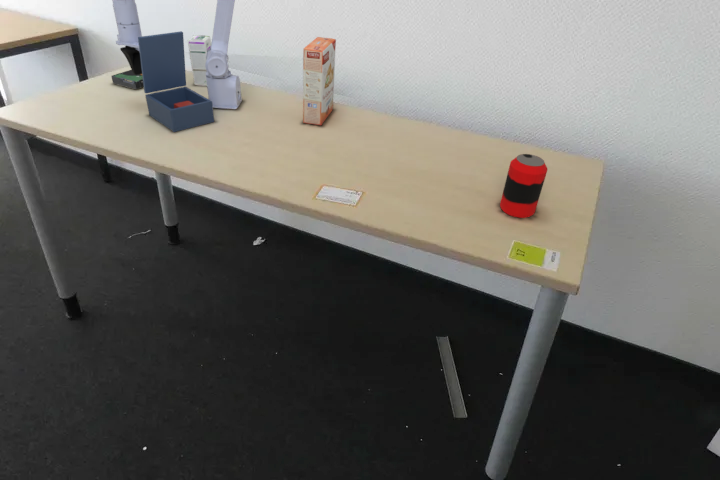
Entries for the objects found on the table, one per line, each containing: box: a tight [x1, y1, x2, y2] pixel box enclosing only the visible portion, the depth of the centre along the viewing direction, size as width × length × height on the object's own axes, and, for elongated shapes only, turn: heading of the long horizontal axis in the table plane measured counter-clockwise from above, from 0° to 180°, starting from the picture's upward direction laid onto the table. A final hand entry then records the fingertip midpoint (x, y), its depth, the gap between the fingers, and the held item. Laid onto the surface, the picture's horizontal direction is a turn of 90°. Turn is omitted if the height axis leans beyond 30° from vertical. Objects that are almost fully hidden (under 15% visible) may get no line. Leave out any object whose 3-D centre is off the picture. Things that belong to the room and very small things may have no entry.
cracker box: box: [302, 36, 337, 126], centre depth 144 cm, size 14×6×21 cm, turn 168°
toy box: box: [145, 86, 215, 133], centre depth 141 cm, size 15×12×6 cm
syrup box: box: [187, 34, 212, 87], centre depth 164 cm, size 6×6×14 cm
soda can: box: [499, 153, 548, 219], centre depth 109 cm, size 8×8×12 cm
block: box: [174, 101, 193, 109], centre depth 139 cm, size 4×4×4 cm
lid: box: [138, 31, 187, 94], centre depth 139 cm, size 15×12×1 cm
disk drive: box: [111, 69, 144, 90], centre depth 166 cm, size 10×3×15 cm
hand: (138, 73), depth 144 cm, fingers closed
